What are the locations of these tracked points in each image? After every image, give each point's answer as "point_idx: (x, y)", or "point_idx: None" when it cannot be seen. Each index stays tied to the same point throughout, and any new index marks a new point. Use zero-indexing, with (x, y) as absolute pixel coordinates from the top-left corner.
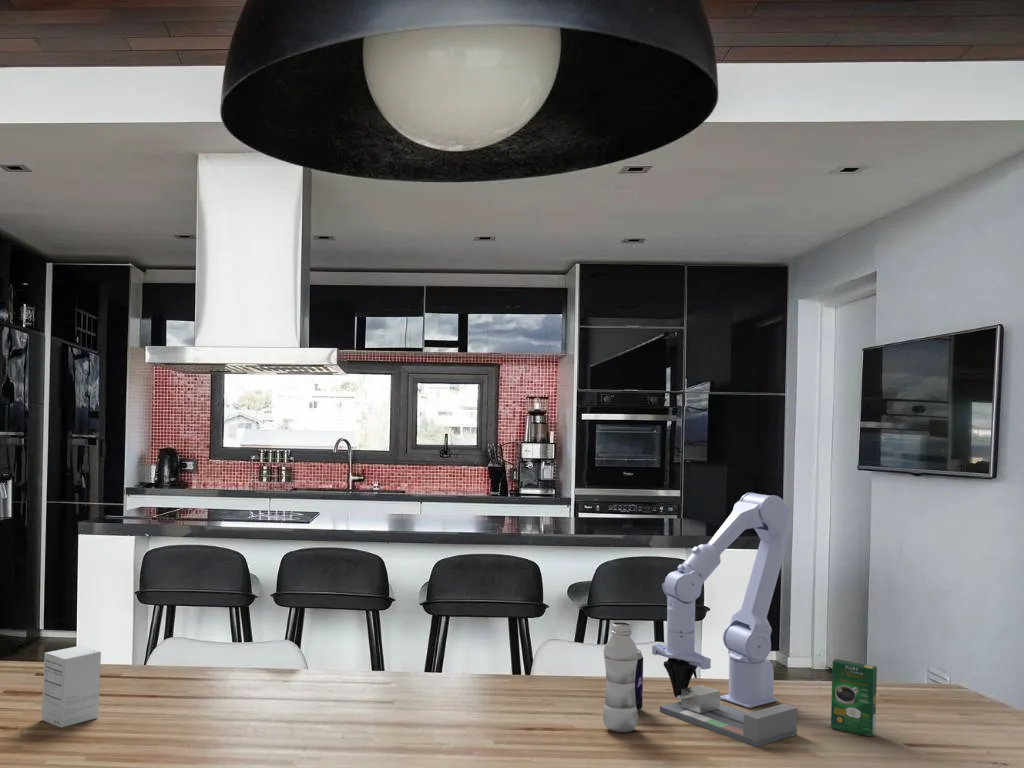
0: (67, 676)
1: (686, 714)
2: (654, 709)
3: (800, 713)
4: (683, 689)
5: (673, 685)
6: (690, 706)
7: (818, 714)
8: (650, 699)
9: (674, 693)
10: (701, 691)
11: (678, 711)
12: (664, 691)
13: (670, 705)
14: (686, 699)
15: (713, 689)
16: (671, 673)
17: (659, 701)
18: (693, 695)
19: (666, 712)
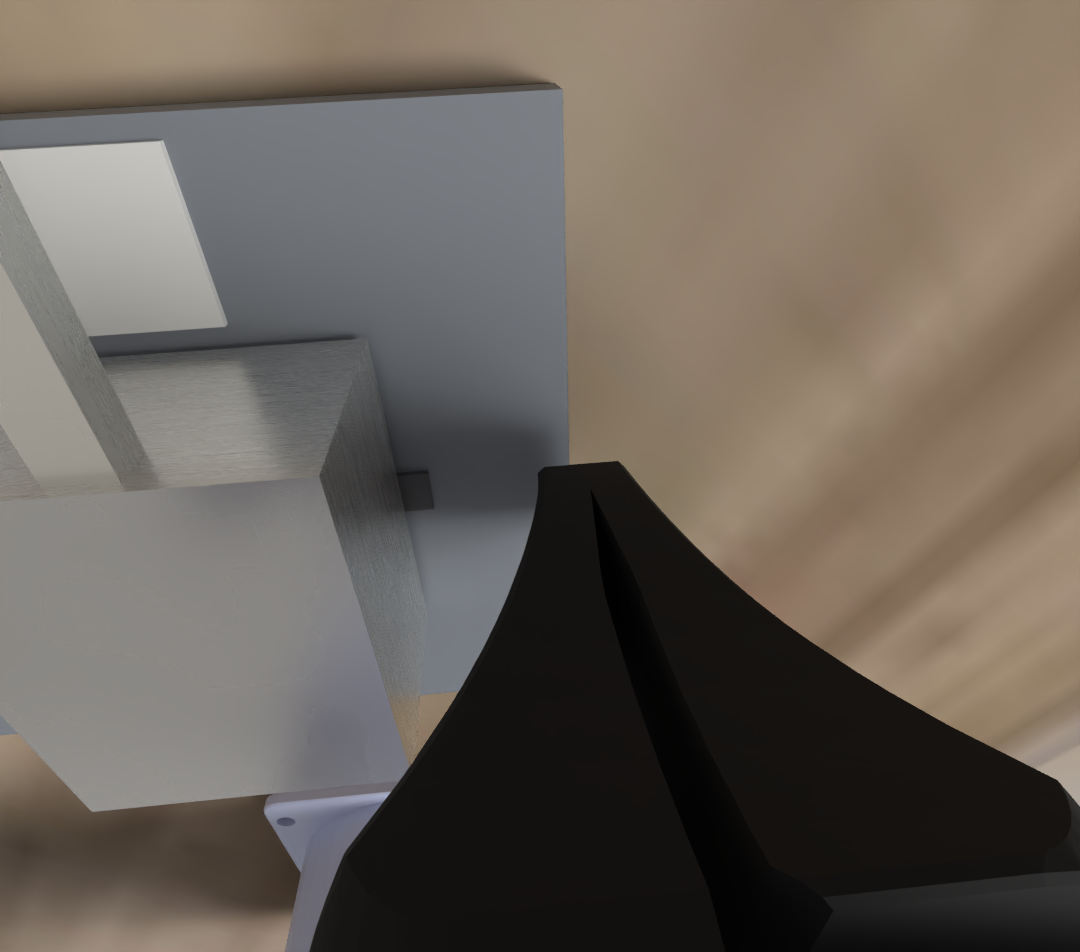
0: None
1: (10, 157)
2: (666, 83)
3: (108, 906)
4: (294, 498)
5: (647, 537)
6: (181, 373)
7: (73, 942)
8: (932, 339)
9: (617, 477)
10: (100, 651)
11: (230, 177)
12: (938, 590)
13: (515, 277)
14: (233, 406)
15: (169, 788)
16: (726, 680)
17: (817, 378)
18: (22, 477)
19: (419, 91)
